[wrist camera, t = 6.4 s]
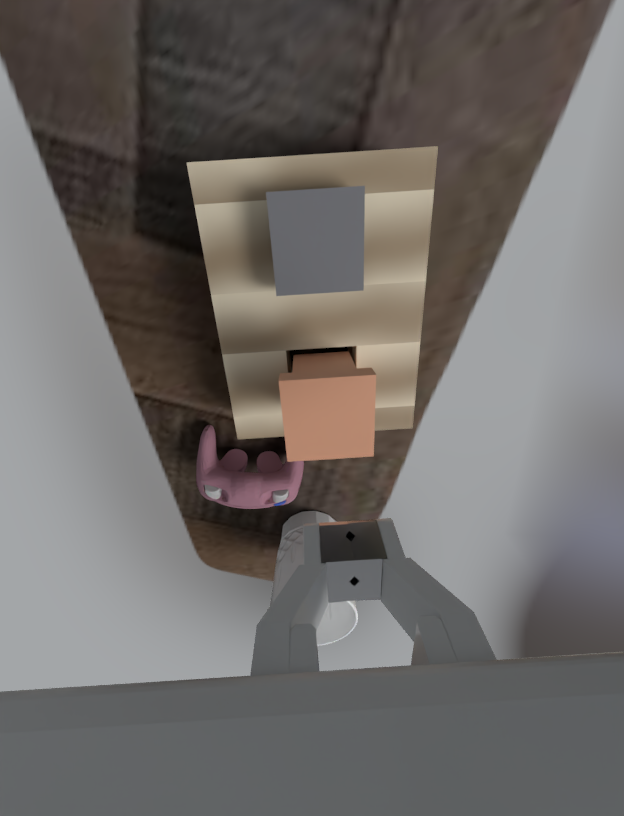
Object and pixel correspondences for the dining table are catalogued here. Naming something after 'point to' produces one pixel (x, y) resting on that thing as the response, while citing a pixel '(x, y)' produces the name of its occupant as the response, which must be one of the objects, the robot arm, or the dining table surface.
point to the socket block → (323, 312)
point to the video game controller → (245, 477)
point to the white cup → (290, 556)
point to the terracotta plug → (328, 407)
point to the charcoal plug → (317, 240)
